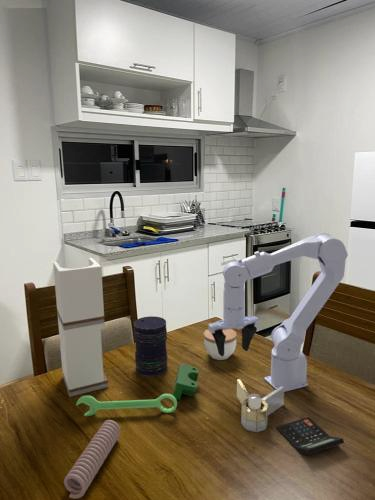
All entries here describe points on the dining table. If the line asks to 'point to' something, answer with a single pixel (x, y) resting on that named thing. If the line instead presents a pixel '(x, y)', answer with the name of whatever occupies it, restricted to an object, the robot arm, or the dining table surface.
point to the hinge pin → (254, 402)
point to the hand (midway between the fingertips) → (233, 352)
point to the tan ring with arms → (259, 418)
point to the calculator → (307, 436)
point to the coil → (91, 459)
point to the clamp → (186, 381)
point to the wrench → (125, 404)
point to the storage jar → (150, 345)
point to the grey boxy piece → (80, 326)
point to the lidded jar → (228, 346)
